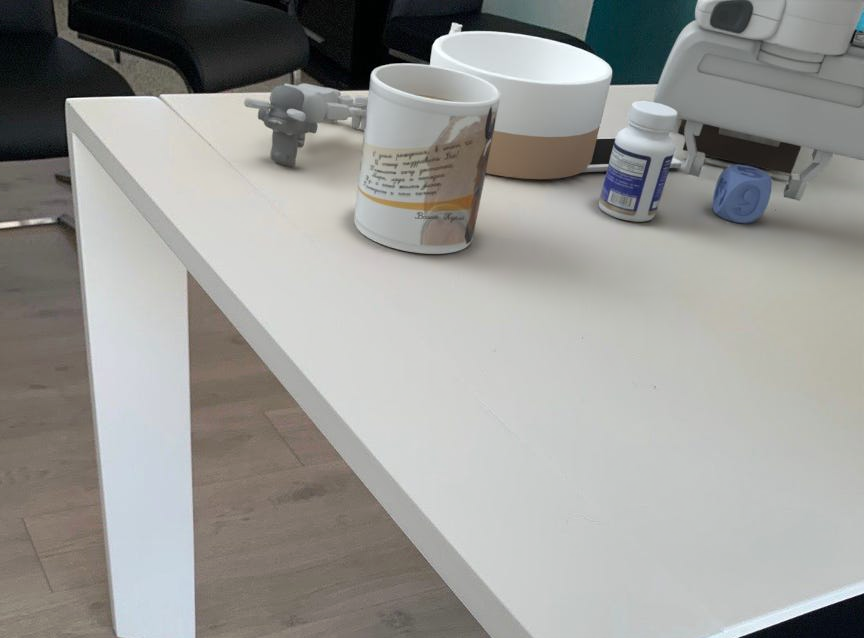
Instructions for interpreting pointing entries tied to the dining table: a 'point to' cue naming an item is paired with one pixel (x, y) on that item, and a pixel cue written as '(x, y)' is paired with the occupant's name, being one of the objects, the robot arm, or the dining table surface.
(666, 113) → the pill bottle
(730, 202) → the decorative dice
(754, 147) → the drawer
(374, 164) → the mug
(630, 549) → the dining table surface
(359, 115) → the figurine
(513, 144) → the bowl
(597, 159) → the cell phone
